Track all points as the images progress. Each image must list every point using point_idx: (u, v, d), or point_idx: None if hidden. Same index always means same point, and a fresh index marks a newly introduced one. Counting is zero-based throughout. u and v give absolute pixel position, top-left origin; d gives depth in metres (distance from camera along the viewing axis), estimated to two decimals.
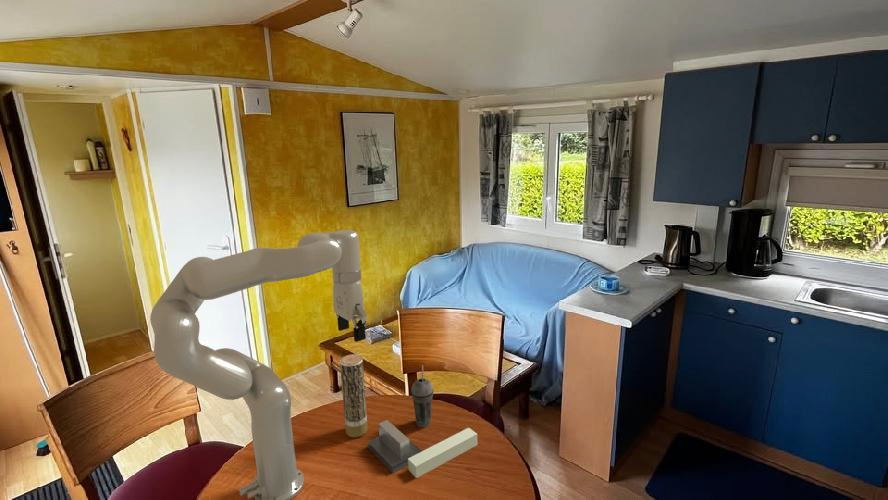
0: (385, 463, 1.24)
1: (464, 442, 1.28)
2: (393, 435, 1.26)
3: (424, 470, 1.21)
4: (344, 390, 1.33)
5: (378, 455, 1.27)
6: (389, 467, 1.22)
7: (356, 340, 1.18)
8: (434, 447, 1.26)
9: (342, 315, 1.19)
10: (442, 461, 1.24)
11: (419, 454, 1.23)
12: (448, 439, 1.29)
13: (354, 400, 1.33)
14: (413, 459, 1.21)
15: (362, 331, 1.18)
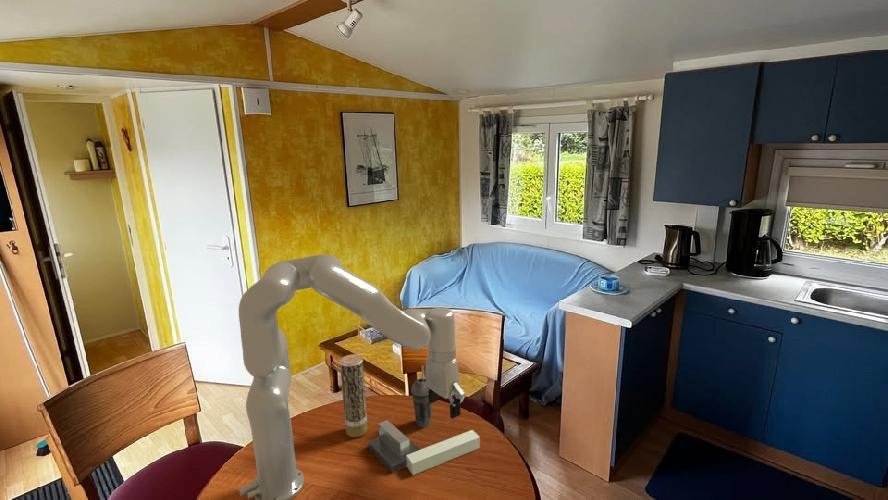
0: (385, 463, 1.24)
1: (465, 444, 1.27)
2: (393, 435, 1.26)
3: (422, 468, 1.21)
4: (344, 390, 1.33)
5: (378, 455, 1.27)
6: (389, 467, 1.22)
7: (452, 417, 1.19)
8: (434, 446, 1.26)
9: (437, 392, 1.20)
10: (441, 461, 1.24)
11: (418, 452, 1.24)
12: (449, 439, 1.29)
13: (354, 400, 1.33)
14: (411, 456, 1.22)
15: (458, 408, 1.19)
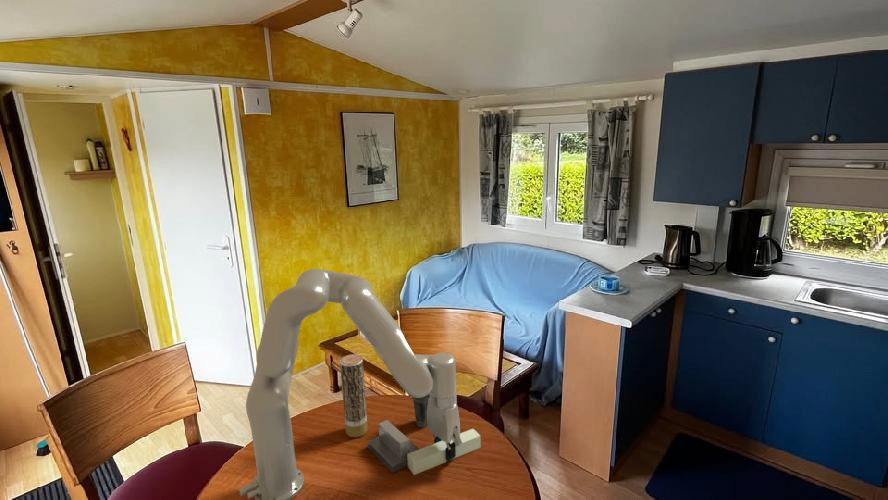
0: (385, 463, 1.24)
1: (466, 443, 1.28)
2: (393, 435, 1.26)
3: (423, 467, 1.21)
4: (344, 390, 1.33)
5: (378, 455, 1.27)
6: (389, 467, 1.22)
7: (448, 459, 1.24)
8: (435, 445, 1.26)
9: (438, 435, 1.23)
10: (442, 460, 1.24)
11: (419, 451, 1.24)
12: None
13: (354, 400, 1.33)
14: (412, 455, 1.22)
15: (453, 451, 1.24)
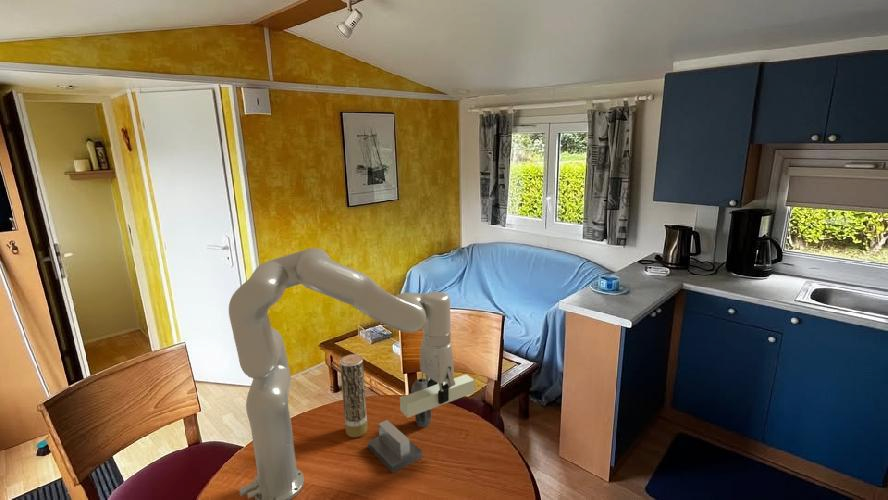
0: (385, 463, 1.24)
1: (460, 386, 1.24)
2: (393, 435, 1.26)
3: (416, 409, 1.17)
4: (344, 390, 1.33)
5: (378, 455, 1.27)
6: (389, 467, 1.22)
7: (440, 402, 1.20)
8: (428, 389, 1.22)
9: (431, 377, 1.19)
10: (435, 403, 1.20)
11: (412, 394, 1.19)
12: (443, 383, 1.25)
13: (354, 400, 1.33)
14: (405, 398, 1.18)
15: (446, 394, 1.20)
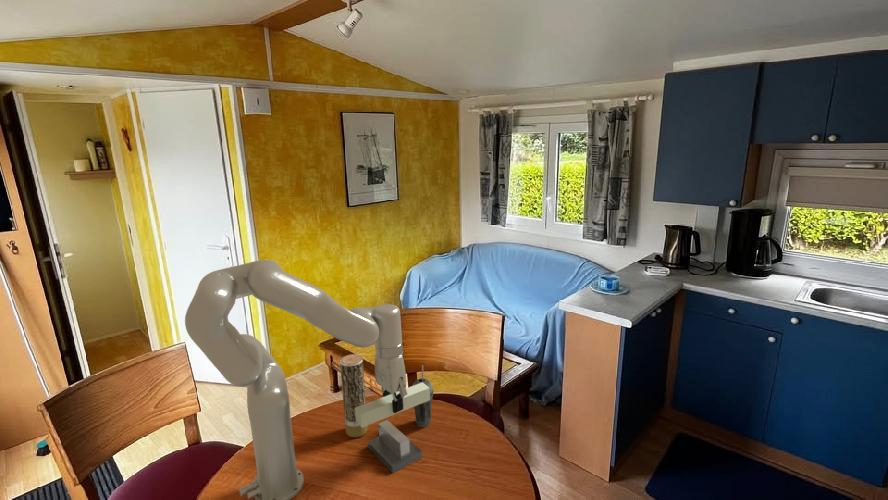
0: (385, 463, 1.24)
1: (415, 395, 1.27)
2: (393, 435, 1.26)
3: (371, 419, 1.20)
4: (344, 390, 1.33)
5: (378, 455, 1.27)
6: (389, 467, 1.22)
7: (395, 412, 1.23)
8: (383, 398, 1.25)
9: (385, 387, 1.22)
10: (390, 412, 1.24)
11: (367, 404, 1.23)
12: None
13: (354, 400, 1.33)
14: (359, 408, 1.21)
15: (400, 403, 1.23)
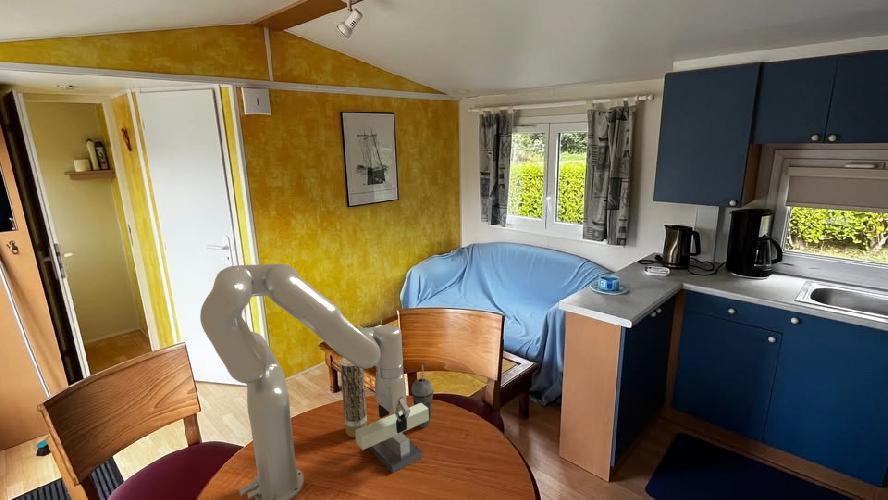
0: (385, 463, 1.24)
1: (414, 416, 1.29)
2: None
3: (371, 441, 1.21)
4: (344, 390, 1.33)
5: (378, 455, 1.27)
6: (389, 467, 1.22)
7: (398, 432, 1.23)
8: (383, 420, 1.27)
9: (385, 407, 1.23)
10: (390, 433, 1.25)
11: (367, 426, 1.24)
12: None
13: (354, 400, 1.33)
14: (360, 431, 1.22)
15: (404, 423, 1.23)
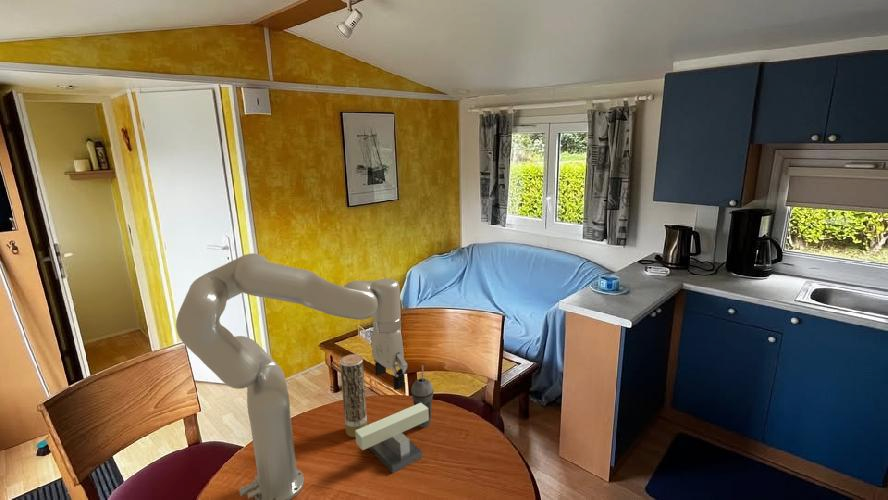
0: (385, 463, 1.24)
1: (414, 416, 1.29)
2: None
3: (371, 441, 1.21)
4: (344, 390, 1.33)
5: (378, 455, 1.27)
6: (389, 467, 1.22)
7: (395, 388, 1.19)
8: (383, 420, 1.27)
9: (382, 363, 1.20)
10: (390, 434, 1.25)
11: (367, 426, 1.24)
12: (398, 413, 1.30)
13: (354, 400, 1.33)
14: (360, 431, 1.22)
15: (402, 379, 1.19)
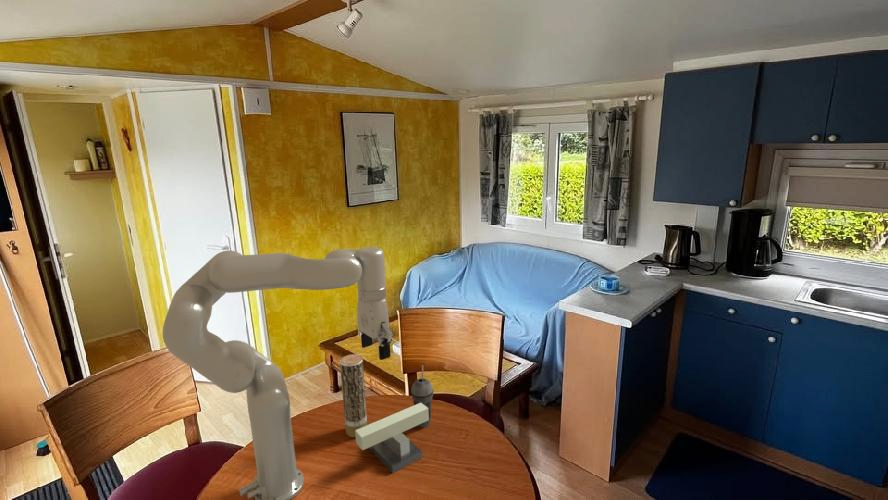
0: (385, 463, 1.24)
1: (414, 416, 1.29)
2: None
3: (371, 441, 1.21)
4: (344, 390, 1.33)
5: (378, 455, 1.27)
6: (389, 467, 1.22)
7: (381, 358, 1.17)
8: (383, 420, 1.27)
9: (367, 333, 1.18)
10: (390, 434, 1.25)
11: (367, 426, 1.24)
12: (398, 413, 1.30)
13: (354, 400, 1.33)
14: (360, 431, 1.22)
15: (387, 349, 1.17)
